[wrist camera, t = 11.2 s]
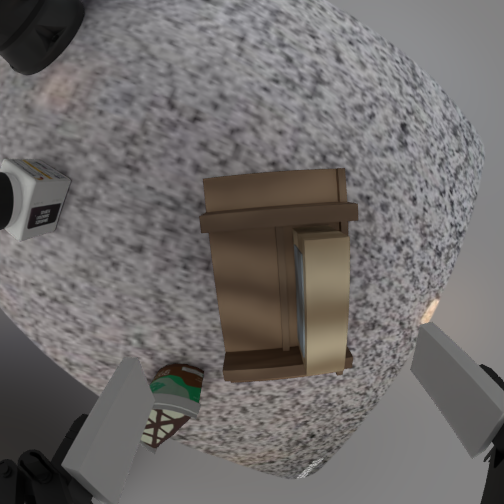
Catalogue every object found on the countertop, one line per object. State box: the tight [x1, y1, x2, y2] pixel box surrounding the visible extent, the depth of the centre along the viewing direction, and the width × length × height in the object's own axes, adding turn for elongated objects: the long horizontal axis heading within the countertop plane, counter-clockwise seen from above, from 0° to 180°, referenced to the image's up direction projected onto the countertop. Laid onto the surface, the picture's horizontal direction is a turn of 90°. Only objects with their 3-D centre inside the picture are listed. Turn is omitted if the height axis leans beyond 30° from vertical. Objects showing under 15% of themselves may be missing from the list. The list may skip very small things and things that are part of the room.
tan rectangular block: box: [293, 225, 350, 376], centre depth 28 cm, size 14×4×7 cm, turn 5°
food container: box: [139, 363, 204, 454], centre depth 31 cm, size 12×6×10 cm, turn 143°
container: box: [0, 159, 71, 242], centre depth 23 cm, size 8×8×13 cm
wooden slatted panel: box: [199, 168, 358, 383], centre depth 30 cm, size 26×15×5 cm, turn 5°
